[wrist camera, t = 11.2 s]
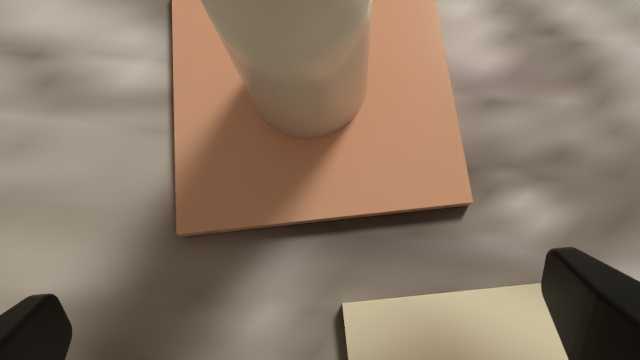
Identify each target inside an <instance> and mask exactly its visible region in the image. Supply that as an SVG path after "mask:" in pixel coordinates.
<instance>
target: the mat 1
mask: <svg viewBox="0 0 640 360" xmlns="http://www.w3.org/2000/svg"><path fill="white" fill-rule="evenodd" d="M172 33H173V86H174V138H175V191H176V235H179V236H182V237H183V236H193V235H202V234H211V233H220V232H229V231H239V230H248V229H257V228H266V227H275V226H285V225H294V224H303V223H312V222H322V221H331V220H340V219H349V218H358V217H368V216H377V215H386V214H395V213H404V212H414V211H423V210H432V209H441V208H450V207H460V206H469V205H470V204H472V203H473V199H472V194H471V188H470V183H469V178H468V172H467V167H466V162H465V156H464V151H463V146H462V140H461V135H460V129H459V124H458V119H457V113H456V108H455V103H454V97H453V92H452V87H451V81H450V76H449V71H448V65H447V60H446V55H445V49H444V44H443V39H442V33H441V28H440V23H439V17H438V12H437V7H436V1H435V0H373V2H372V17H371V32H370V47H369V62H368V77H367V90H366V95H365V99H364V102H363V104H362V106H361V108H360V110H359V111H358V113H357V114H356V116H355V117H354V118H353V119H352V120H351V121H350V122H349V123H348V124H347V125H346V126H344V127H343V128H341V129H340V130H338V131H336V132H334V133H332V134H330V135H327V136H324V137H319V138H311V139H304V138H296V137H291V136H288V135H285V134H283V133H281V132H279V131H277V130H275V129H274V128H272V127H271V126H270V125H269V124H268V123H267V122H266V121H265V120H264V119H263V118H262V117H261V115H260V114H259V112H258V110H257V108H256V106H255V104H254V103H253V101H252V99H251V97H250V95H249V93H248V91H247V89H246V87H245V85H244V83H243V81H242V79H241V77H240V75H239V74H238V72H237V70H236V68H235V66H234V64H233V62H232V60H231V58H230V56H229V54H228V52H227V50H226V48H225V47H224V45H223V43H222V41H221V39H220V37H219V35H218V33H217V31H216V29H215V27H214V25H213V23H212V21H211V19H210V18H209V16H208V14H207V12H206V10H205V8H204V6H203V4H202V2H201V0H172Z"/></svg>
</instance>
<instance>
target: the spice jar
mask: <svg viewBox="0 0 640 360" xmlns="http://www.w3.org/2000/svg"><path fill="white" fill-rule="evenodd" d="M201 2H202V4H203V6H204V8H205V10H206V12H207V14H208V16H209V18H210V19H211V21H212V23H213V25H214V27H215V29H216V31H217V33H218V35H219V37H220V39H221V41H222V43H223V45H224V47H225V48H226V50H227V52H228V54H229V56H230V58H231V60H232V62H233V64H234V66H235V68H236V70H237V72H238V74H239V75H240V77H241V79H242V81H243V83H244V85H245V87H246V89H247V91H248V93H249V95H250V97H251V99H252V101H253V103H254V104H255V106H256V108H257V110H258V112H259V114H260V115H261V117H262V118H263V119H264V120H265V121H266V122H267V123H268V124H269V125H270V126H271V127H272V128H274V129H275V130H277V131H279V132H281V133H283V134H285V135H288V136H291V137H296V138H304V139H311V138H319V137H324V136H327V135H330V134H332V133H334V132H336V131H338V130H340V129H341V128H343V127H344V126H346V125H347V124H348V123H349V122H350V121H351V120H352V119H353V118H354V117H355V116H356V114H357V113H358V111H359V110H360V108H361V106H362V104H363V102H364V99H365V95H366V90H367V77H368V62H369V47H370V32H371V17H372V2H373V0H201Z"/></svg>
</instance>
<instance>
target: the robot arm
mask: <svg viewBox="0 0 640 360" xmlns="http://www.w3.org/2000/svg"><path fill="white" fill-rule="evenodd" d="M541 291H542V295H543V298H544V301H545V303H546V306H547V308H548V310H549V313H550V315H551V318H552V320H553V323H554V325H555V328H556V330H557V333H558V335H559V338H560V340H561V343H562V345H563V347H564V350H565V352H566V355H567V357H568V360H640V282H639V281H637V280H635V279H633V278H632V277H630V276H628V275H626V274H624V273H622V272H620V271H618V270H616V269H614V268H613V267H611V266H609V265H607V264H605V263H603V262H601V261H599V260H597V259H595V258H594V257H592V256H590V255H588V254H586V253H584V252H582V251H580V250H578V249H576V248H573V247H564V248H553V249H551V250H549V251H548V253H547V255H546V260H545V265H544V270H543V276H542V281H541ZM71 338H72V326H71V323H70V321H69V319H68V317H67V315H66V313H65V311H64V309H63V307H62V305H61V303H60V301H59V299H58V298H57V297H56V296H55V295H54V294H40V295H32V296H29V297H27V298H25V299H24V300H22V301H21V302H19V303H18V304H16V305H15V306H13V307H12V308H10V309H9V310H7V311H6V312H4V313H3V314H1V315H0V360H65V359H66V355H67V352H68V349H69V345H70V342H71Z"/></svg>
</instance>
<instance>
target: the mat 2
mask: <svg viewBox="0 0 640 360" xmlns="http://www.w3.org/2000/svg"><path fill="white" fill-rule="evenodd" d="M342 306H343V315H344V324H345V334H346V343H347V352H348V360H568V357H567V355H566V352H565V350H564V347H563V345H562V343H561V340H560V338H559V335H558V333H557V330H556V328H555V325H554V323H553V320H552V318H551V315H550V313H549V310H548V308H547V306H546V303H545V301H544V298H543V295H542V291H541V283H537V284H527V285H517V286H507V287H497V288H487V289H478V290H468V291H458V292H448V293H438V294H428V295H418V296H409V297H399V298H389V299H379V300H369V301H359V302H349V303H342Z"/></svg>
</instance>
